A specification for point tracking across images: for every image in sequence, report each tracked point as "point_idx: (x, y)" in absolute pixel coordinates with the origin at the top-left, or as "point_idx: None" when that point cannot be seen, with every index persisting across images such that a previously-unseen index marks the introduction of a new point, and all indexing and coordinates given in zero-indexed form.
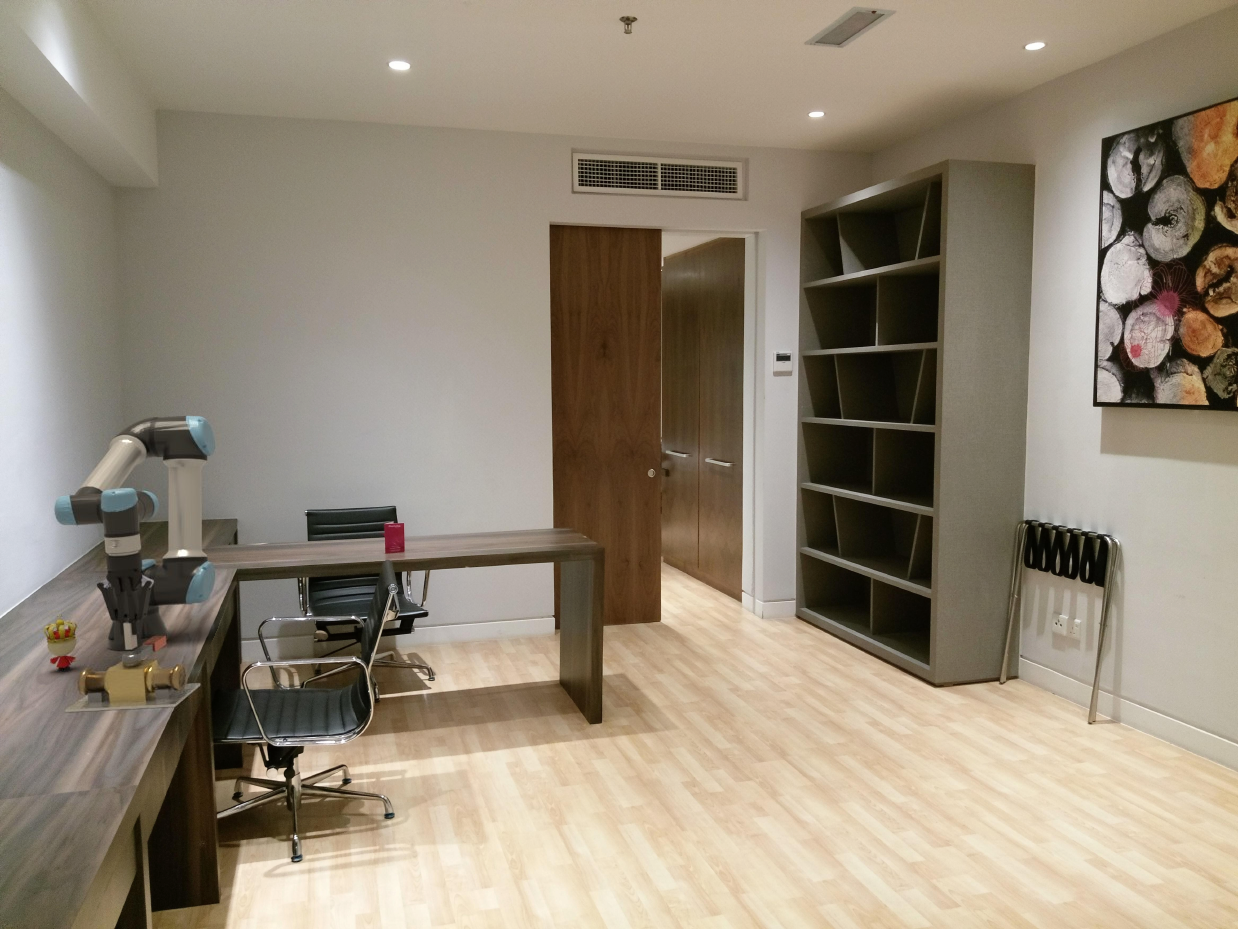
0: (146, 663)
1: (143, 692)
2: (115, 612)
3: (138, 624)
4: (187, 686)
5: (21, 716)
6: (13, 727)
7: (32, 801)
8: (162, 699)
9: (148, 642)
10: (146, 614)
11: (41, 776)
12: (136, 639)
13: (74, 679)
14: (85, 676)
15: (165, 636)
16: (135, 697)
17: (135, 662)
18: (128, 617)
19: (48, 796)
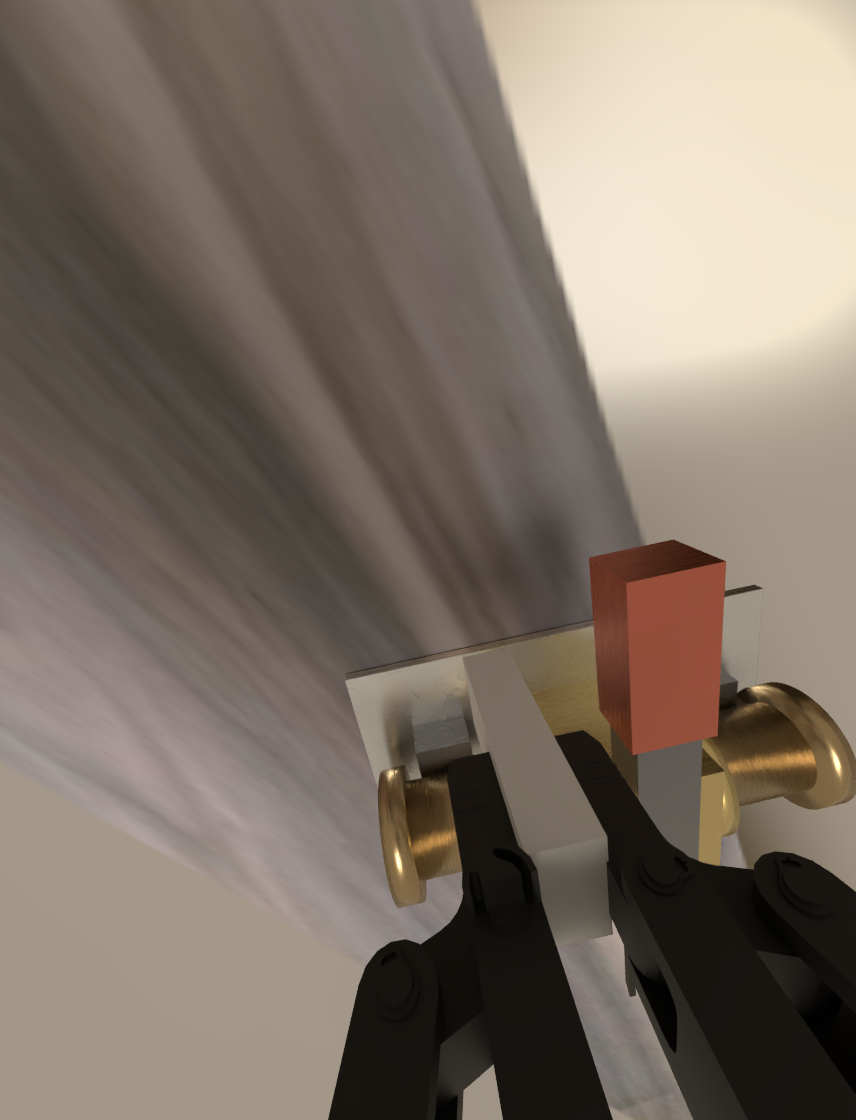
0: None
1: None
2: (376, 1114)
3: (642, 815)
4: (726, 630)
5: (275, 889)
6: (332, 942)
7: (663, 1108)
8: None
9: (668, 736)
10: (848, 899)
11: (619, 1065)
12: (523, 681)
13: (82, 555)
14: (423, 888)
15: (720, 563)
16: None
17: None
18: (545, 913)
19: (680, 1096)
